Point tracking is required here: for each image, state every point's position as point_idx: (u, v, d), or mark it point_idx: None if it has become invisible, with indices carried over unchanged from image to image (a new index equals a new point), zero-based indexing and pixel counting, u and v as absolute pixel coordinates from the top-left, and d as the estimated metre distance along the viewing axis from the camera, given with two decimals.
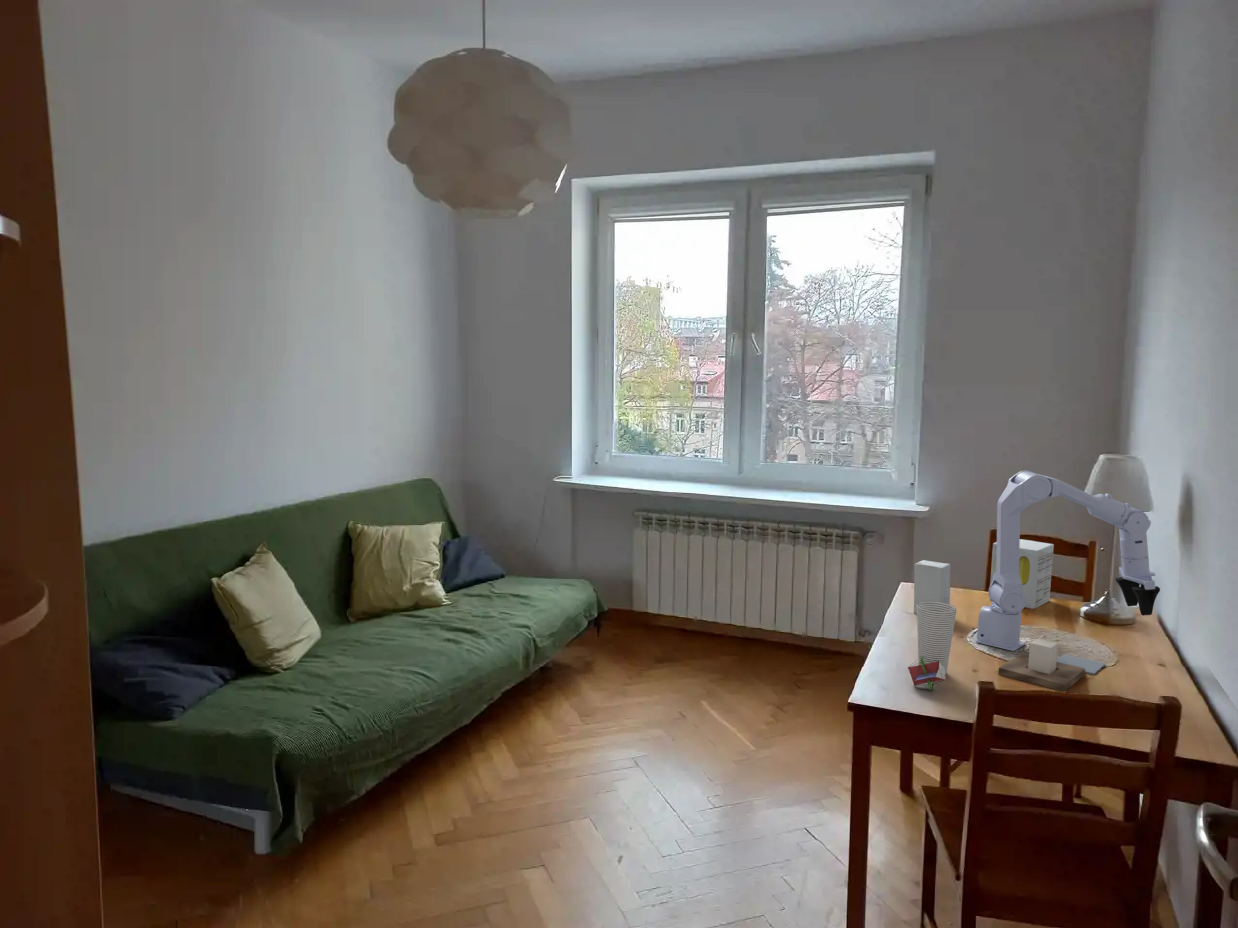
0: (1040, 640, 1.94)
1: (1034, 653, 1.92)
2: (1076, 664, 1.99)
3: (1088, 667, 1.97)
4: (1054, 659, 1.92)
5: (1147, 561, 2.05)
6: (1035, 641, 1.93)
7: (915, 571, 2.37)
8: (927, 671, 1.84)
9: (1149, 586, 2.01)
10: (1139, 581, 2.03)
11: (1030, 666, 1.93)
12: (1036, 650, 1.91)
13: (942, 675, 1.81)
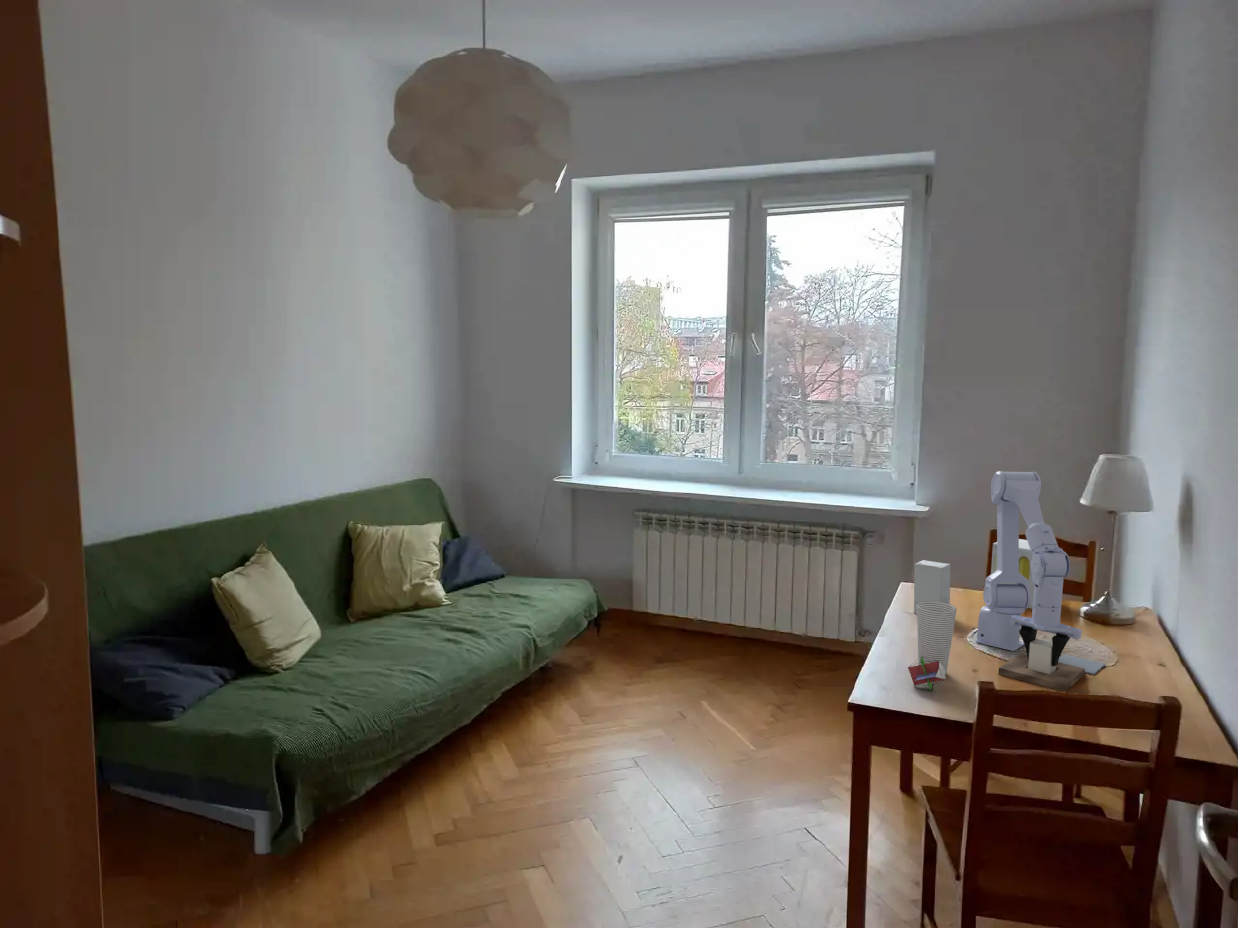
0: (1040, 640, 1.94)
1: (1034, 653, 1.92)
2: (1076, 664, 1.99)
3: (1088, 667, 1.97)
4: None
5: (1034, 608, 1.91)
6: (1035, 641, 1.93)
7: (915, 571, 2.37)
8: (927, 671, 1.84)
9: None
10: None
11: (1030, 666, 1.93)
12: (1036, 650, 1.91)
13: (942, 675, 1.81)
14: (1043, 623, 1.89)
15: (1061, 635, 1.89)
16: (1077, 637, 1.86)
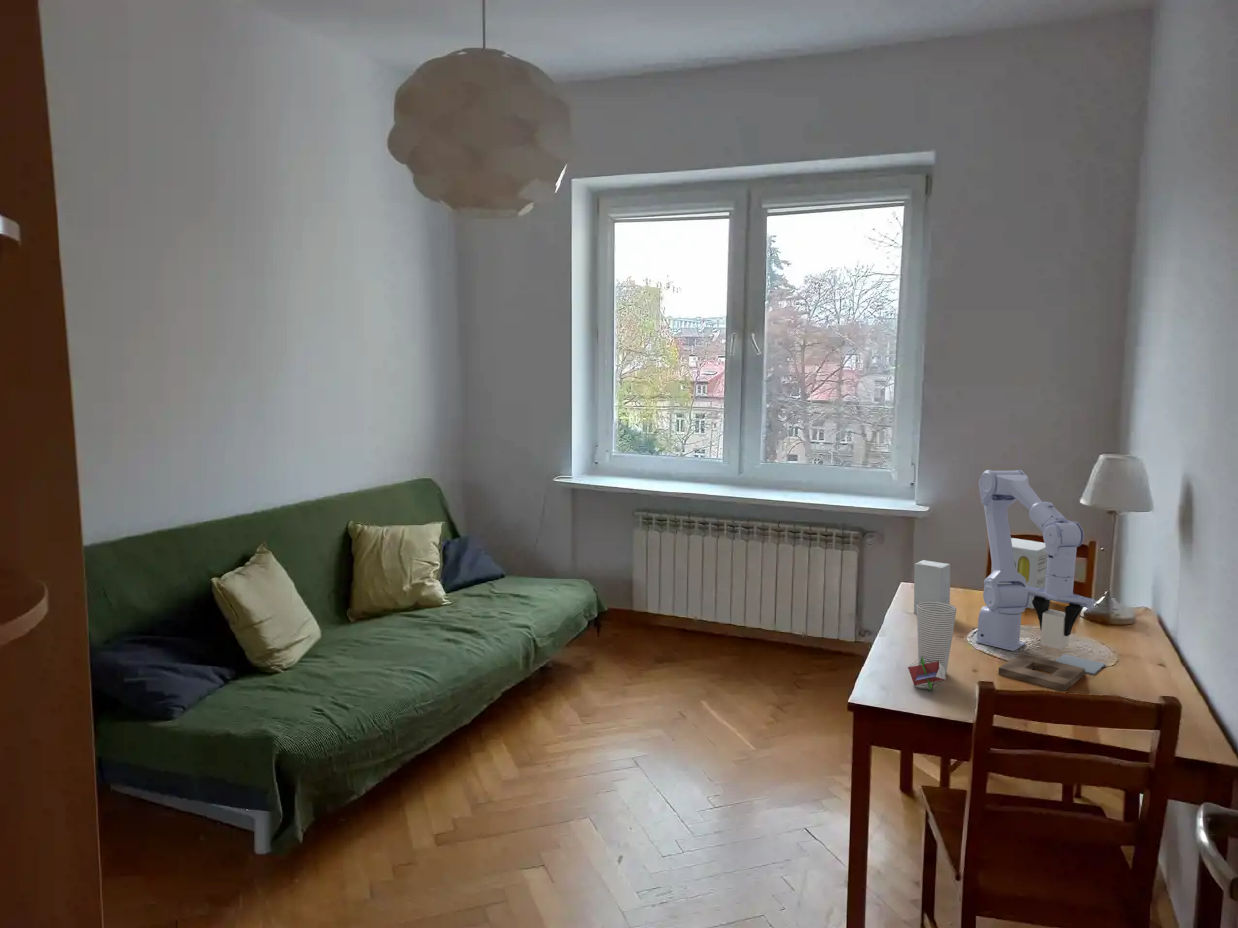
0: (1052, 610, 1.95)
1: (1047, 623, 1.93)
2: (1076, 664, 1.99)
3: (1088, 667, 1.97)
4: None
5: (1047, 578, 1.92)
6: (1048, 611, 1.94)
7: (915, 571, 2.37)
8: (927, 671, 1.84)
9: None
10: None
11: (1042, 636, 1.94)
12: (1049, 620, 1.92)
13: (942, 675, 1.81)
14: (1056, 593, 1.90)
15: (1074, 605, 1.90)
16: (1090, 606, 1.87)
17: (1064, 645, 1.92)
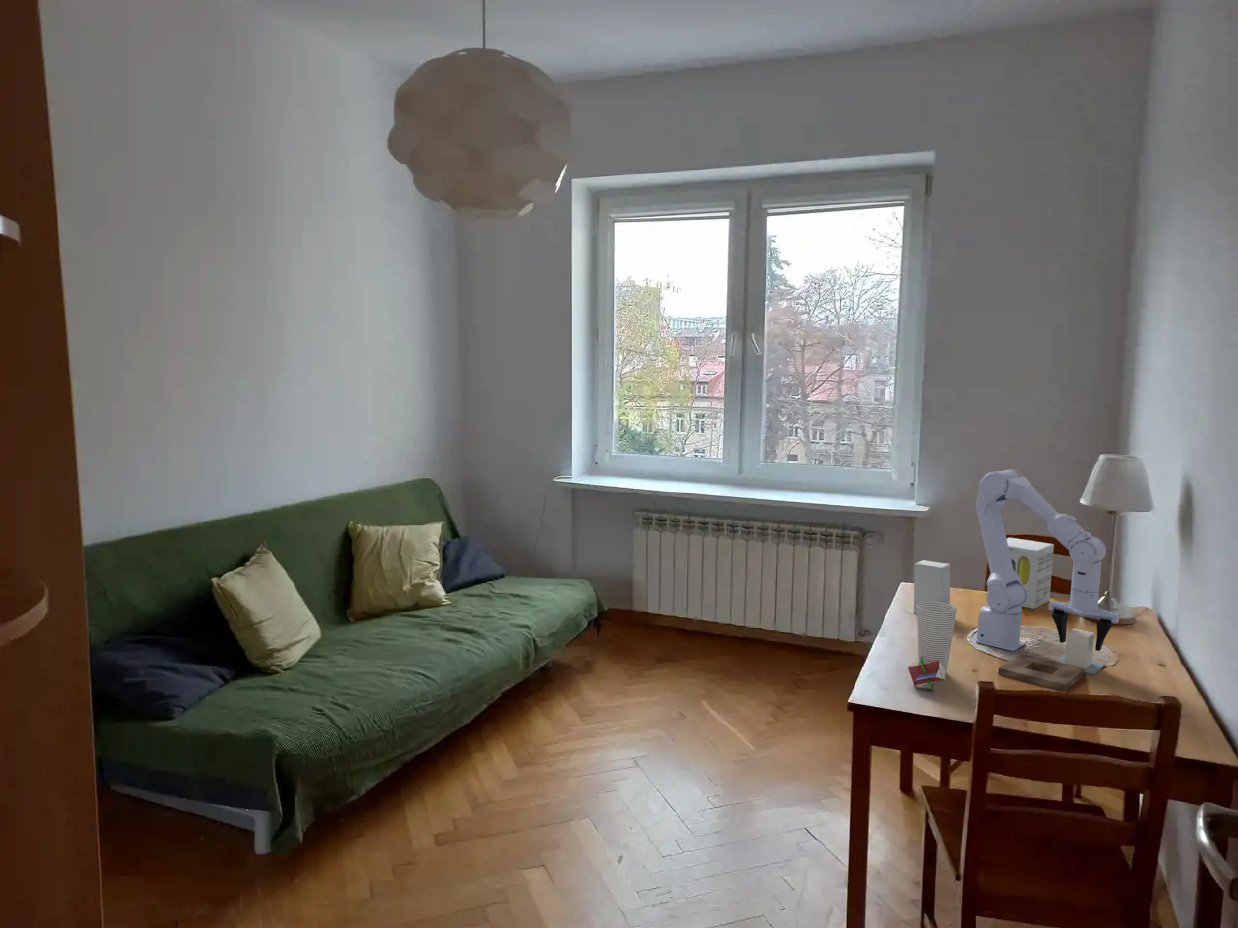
0: (1076, 630, 2.00)
1: (1072, 643, 1.98)
2: None
3: (1088, 667, 1.97)
4: (1091, 648, 1.98)
5: (1072, 593, 1.97)
6: (1072, 631, 1.99)
7: (915, 571, 2.37)
8: (927, 671, 1.84)
9: None
10: None
11: (1067, 655, 1.99)
12: (1073, 640, 1.98)
13: (942, 675, 1.81)
14: (1081, 608, 1.96)
15: None
16: (1115, 621, 1.92)
17: (1088, 664, 1.98)
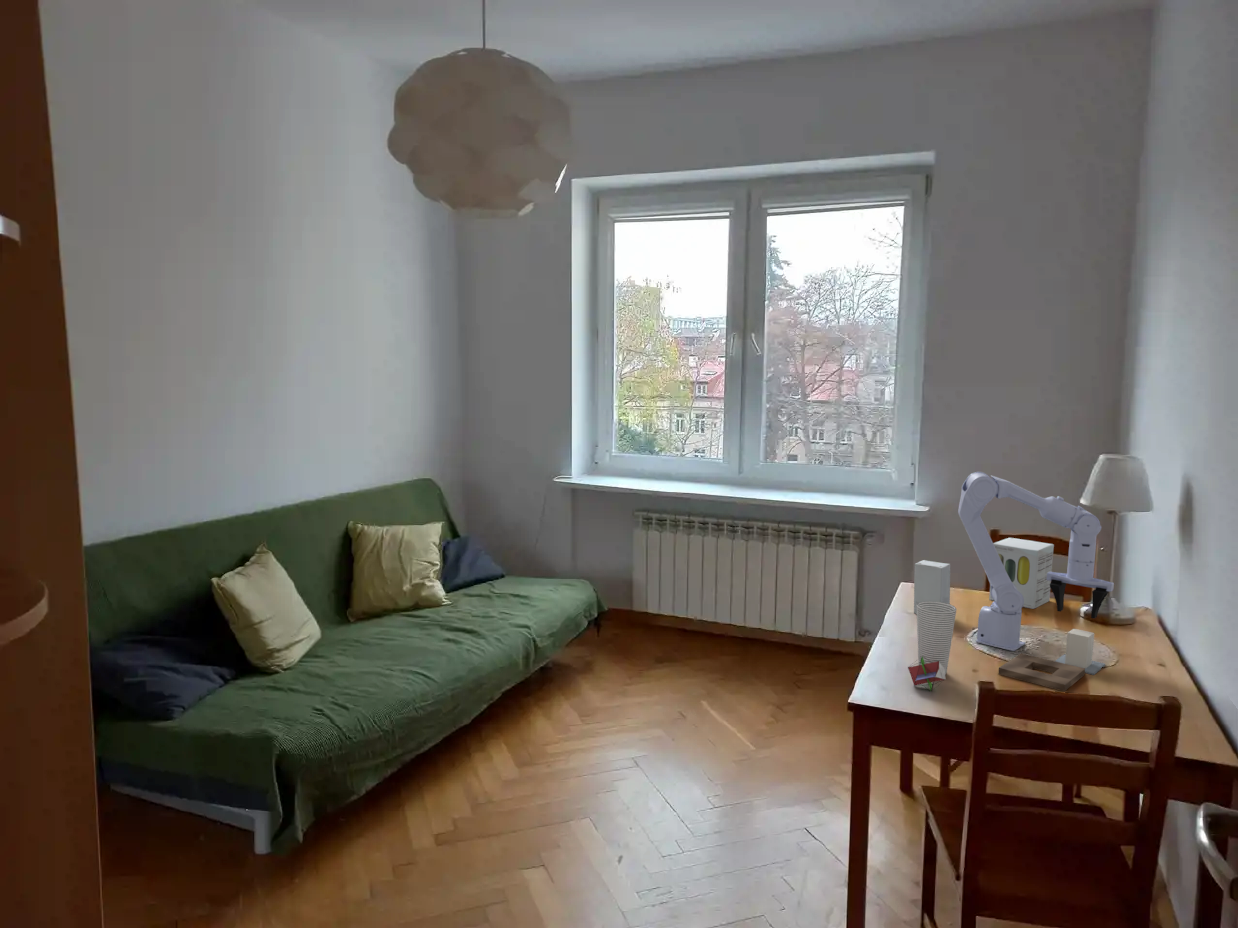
0: (1076, 630, 2.00)
1: (1072, 643, 1.98)
2: None
3: (1088, 667, 1.97)
4: (1091, 648, 1.98)
5: (1069, 563, 2.07)
6: (1072, 631, 1.99)
7: (915, 571, 2.37)
8: (927, 671, 1.84)
9: None
10: None
11: (1067, 655, 1.99)
12: (1073, 640, 1.98)
13: (942, 675, 1.81)
14: (1078, 577, 2.05)
15: None
16: (1110, 589, 2.02)
17: (1088, 664, 1.98)
